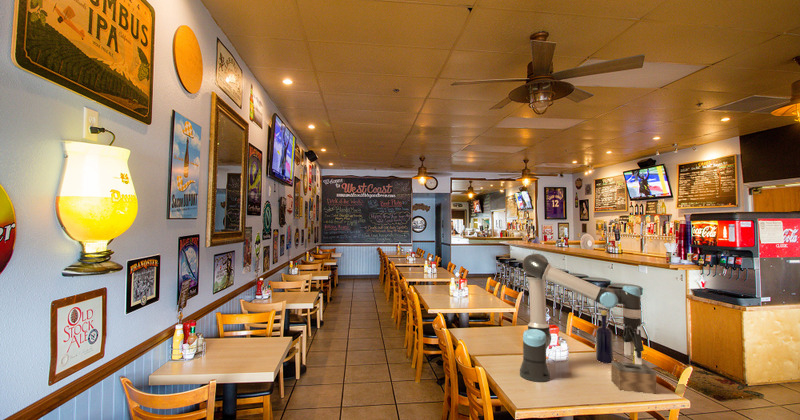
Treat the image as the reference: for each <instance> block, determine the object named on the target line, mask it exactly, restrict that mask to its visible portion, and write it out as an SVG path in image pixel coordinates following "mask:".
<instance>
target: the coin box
mask: <svg viewBox="0 0 800 420" xmlns="http://www.w3.org/2000/svg"><path fill="white" fill-rule="evenodd" d="M610 366H611V368H610V370H611V372H610V373H611V375H610V377H611V382H612V384H614V386H615V387H616V388H617V387H618V388H617V389H618V390H619V391H621V390H624V391H623V392H631V391H634V392H633V393H640V392H643V394H650V393H653V394H652V395H657V372H655V371H654V370H653V369H652V368H650V367H649V366H648V365H647V364H645V363H642V365H640V364H635V362H634V363H633V362H626V361H625V362H624V361H614V360H613V361H611V364H610Z"/></svg>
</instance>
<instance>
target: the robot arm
mask: <svg viewBox="0 0 800 420" xmlns="http://www.w3.org/2000/svg"><path fill="white" fill-rule="evenodd" d="M522 268H523V270H524V272H525V275H526V276H525V277H526V278H527V279H528V287H529V288H528V290H529V315H530V317H529V318H530V321H529V323H528V324H527V330H524V331H523V333H522V334H523V335H522V362H521V364H520V368H519V376H520V377H521V378H523V379H525V380H527V381H532V382H538V383H542V382H543V383H544V382H548V381H549V380H550V378H551V377H550V370H549V368H548V365H547V349H548V347H549V346H550V344H551V342H552V335H551V332H550V331H551V329H550V325H549V324H548V323H547V301H546V280H547V281H549V282H552V283H553V284H556V285H558V286H560V287H563V288H565V289H567V290H569V291H571V292H574V293H576V294H578V295H581V296H583V297H585V298H587V299H589V300H591V301H594V302H596V303H598V304H600V305H602V306H603V307H604V308H607V309H613V308H615V307H616V306H617V305H619V304H620V305H623V308H622V311H623V313H622V314H623V318H622V319H623V324H624V327H623V333H622V337H621V339H622V340H623V345H624V346H623V347H624V349H623V350H624V351H623V354H624V356H631V342H632V341H633V344H634V345H633V346H634V349H633V351H634V363H635V364H640V365H642V364H643V362H642V361H643V360H642V354H643V353H642V352H644V351H645V349H644V345H643V344H644V343H643V340H642V333H641V332H642V331H641V329H638V327H641V325H642V319H641V317H642V312H643V311H642V310H641V309H642V308H641V305H642V304H641V303H642V302H641V300H642V299H641V298H642V296H641V288H640V287H638V286H634V285H624V286H622V288H620V289H619V288H609V287H608V288H607V287H601V286H598V285H596V284H593V283H591V282H590V281H586V280H584V279H582V278H579V277H578V276H575V275H572V274H570V273H567V272H566V271H564V270H561V269H559V268H557V267H554V266H552V265H551V263H549V261H548V259H547V257H546V256H544V255H543V254H541V253H536V252H535V253H531V254H529V255H527V256H525V257H524V259H523V260H522ZM631 339H632V341H631Z"/></svg>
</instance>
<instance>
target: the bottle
mask: <svg viewBox="0 0 800 420" xmlns="http://www.w3.org/2000/svg"><path fill="white" fill-rule="evenodd" d="M600 311H601V313H600V320H601V326H599V327H597V328H596V329H595V355H596V356H595V359H597V360H598V361H600V362H599V363H602V362H603V364H608V363H611V361H614V349H613V348H614V345H613V343H614V341H613V339H614V337H613V330H611V328H609V327H607V326H608V323H607V319H608V318H607V317H608V314H607V310H600ZM597 360H596V361H597ZM598 361H597V362H598Z"/></svg>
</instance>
